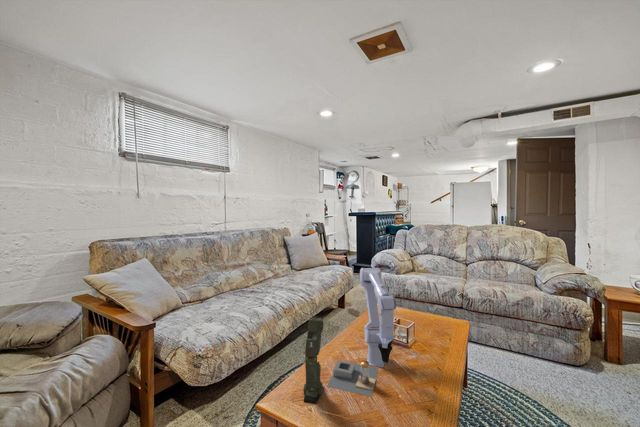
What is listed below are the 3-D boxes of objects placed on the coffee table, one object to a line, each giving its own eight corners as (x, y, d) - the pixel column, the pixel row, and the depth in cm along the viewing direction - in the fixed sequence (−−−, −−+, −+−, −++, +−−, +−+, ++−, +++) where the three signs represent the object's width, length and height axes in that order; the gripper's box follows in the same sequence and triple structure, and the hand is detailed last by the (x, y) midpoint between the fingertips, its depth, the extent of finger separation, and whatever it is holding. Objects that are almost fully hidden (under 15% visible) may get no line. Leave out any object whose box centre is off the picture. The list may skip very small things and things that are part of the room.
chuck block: (338, 366, 124) (338, 359, 124) (355, 369, 122) (355, 363, 122) (333, 376, 117) (333, 369, 117) (351, 380, 114) (351, 373, 114)
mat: (339, 361, 129) (339, 360, 129) (378, 368, 123) (378, 367, 123) (327, 387, 110) (327, 386, 110) (371, 397, 104) (371, 396, 104)
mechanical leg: (317, 410, 97) (321, 320, 103) (297, 407, 98) (303, 318, 104) (324, 394, 110) (327, 315, 116) (306, 391, 111) (311, 314, 118)
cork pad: (359, 376, 117) (359, 375, 117) (375, 380, 114) (375, 378, 114) (355, 386, 110) (355, 385, 110) (373, 390, 108) (373, 389, 108)
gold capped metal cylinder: (362, 378, 115) (361, 359, 114) (370, 380, 113) (369, 361, 113) (360, 383, 111) (359, 364, 111) (368, 385, 110) (367, 365, 110)
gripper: (378, 317, 122) (378, 347, 122) (374, 330, 108) (374, 364, 108) (395, 319, 120) (395, 350, 120) (392, 333, 106) (392, 368, 106)
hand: (386, 357), depth 114 cm, fingers open, 7 cm apart
